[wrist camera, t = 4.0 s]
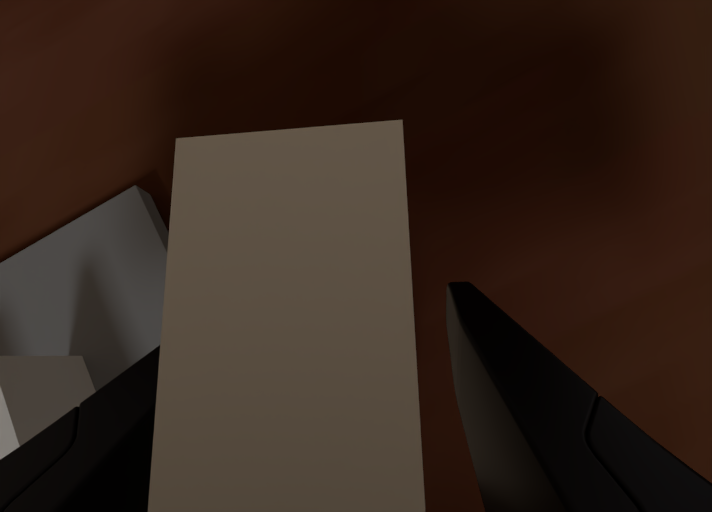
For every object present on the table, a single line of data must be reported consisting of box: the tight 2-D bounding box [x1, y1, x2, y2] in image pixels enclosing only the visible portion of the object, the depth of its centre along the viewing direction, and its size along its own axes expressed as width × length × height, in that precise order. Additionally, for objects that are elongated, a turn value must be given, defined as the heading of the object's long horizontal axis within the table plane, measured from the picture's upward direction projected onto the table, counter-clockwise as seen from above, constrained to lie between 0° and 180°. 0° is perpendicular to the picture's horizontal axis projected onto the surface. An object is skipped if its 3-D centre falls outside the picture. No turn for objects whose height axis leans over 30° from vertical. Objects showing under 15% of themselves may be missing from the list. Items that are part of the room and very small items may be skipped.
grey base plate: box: [0, 185, 169, 459], centre depth 13 cm, size 18×13×4 cm
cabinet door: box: [148, 120, 425, 512], centre depth 9 cm, size 6×2×12 cm, turn 2°
